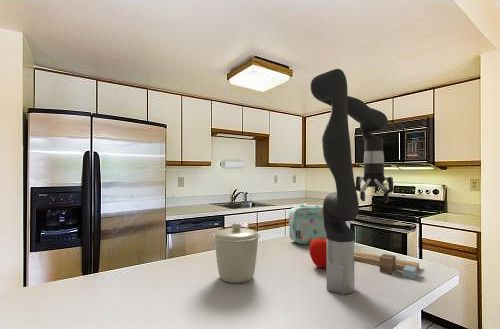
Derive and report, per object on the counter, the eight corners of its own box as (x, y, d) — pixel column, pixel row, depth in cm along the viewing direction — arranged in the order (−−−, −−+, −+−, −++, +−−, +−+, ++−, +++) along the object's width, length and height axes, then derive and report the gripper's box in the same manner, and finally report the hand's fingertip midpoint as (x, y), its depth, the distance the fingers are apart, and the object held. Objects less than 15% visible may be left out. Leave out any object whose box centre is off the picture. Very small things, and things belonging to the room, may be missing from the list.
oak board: (415, 273, 109) (415, 268, 109) (350, 259, 126) (350, 254, 126) (419, 267, 115) (418, 262, 115) (356, 255, 132) (356, 250, 132)
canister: (255, 290, 94) (255, 228, 95) (205, 285, 98) (205, 226, 98) (263, 270, 112) (263, 219, 112) (221, 267, 116) (221, 217, 116)
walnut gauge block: (391, 274, 108) (391, 259, 108) (379, 271, 111) (379, 256, 111) (395, 270, 112) (395, 255, 112) (384, 267, 115) (383, 253, 115)
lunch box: (293, 246, 148) (293, 206, 148) (286, 241, 158) (286, 204, 158) (337, 242, 154) (337, 204, 154) (328, 238, 164) (327, 202, 164)
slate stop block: (413, 279, 103) (413, 271, 103) (403, 276, 105) (403, 269, 105) (416, 274, 107) (416, 267, 107) (406, 272, 110) (406, 264, 110)
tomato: (333, 263, 121) (333, 234, 121) (339, 272, 110) (339, 240, 110) (307, 262, 122) (307, 233, 122) (310, 271, 111) (310, 240, 111)
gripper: (353, 162, 114) (353, 201, 114) (390, 162, 105) (390, 204, 104) (359, 162, 120) (359, 200, 120) (395, 162, 110) (395, 202, 110)
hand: (374, 202), depth 112 cm, fingers open, 8 cm apart
